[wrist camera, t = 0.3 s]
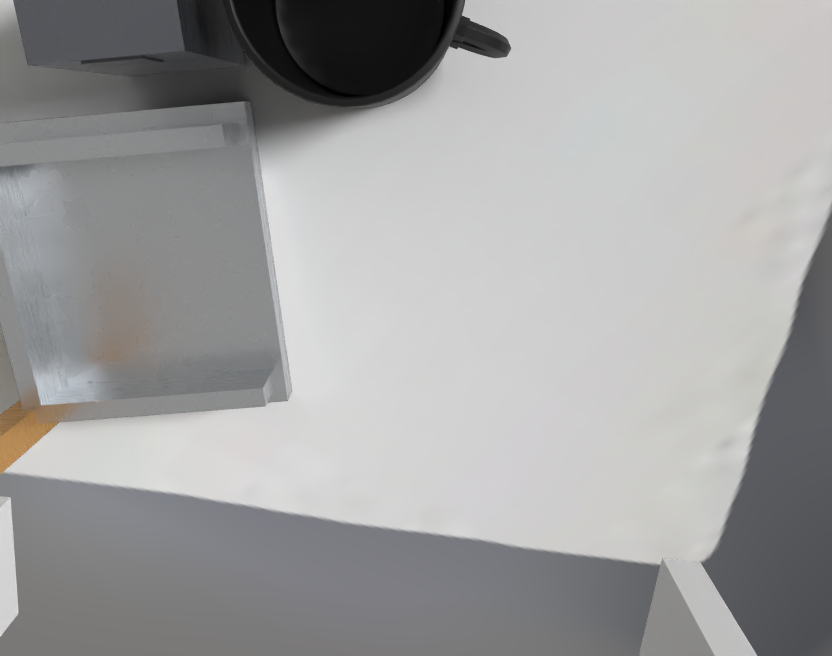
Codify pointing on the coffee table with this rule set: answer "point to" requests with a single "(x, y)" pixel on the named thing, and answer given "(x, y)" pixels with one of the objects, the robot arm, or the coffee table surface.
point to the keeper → (135, 269)
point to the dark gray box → (128, 35)
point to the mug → (355, 45)
